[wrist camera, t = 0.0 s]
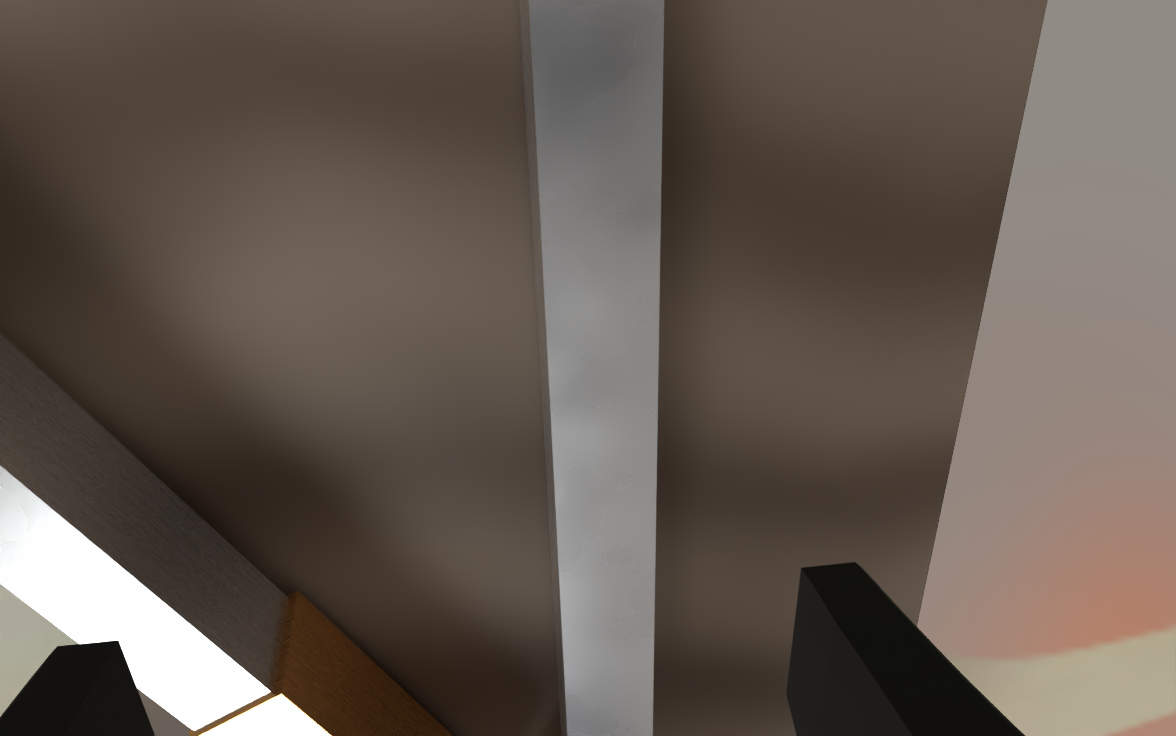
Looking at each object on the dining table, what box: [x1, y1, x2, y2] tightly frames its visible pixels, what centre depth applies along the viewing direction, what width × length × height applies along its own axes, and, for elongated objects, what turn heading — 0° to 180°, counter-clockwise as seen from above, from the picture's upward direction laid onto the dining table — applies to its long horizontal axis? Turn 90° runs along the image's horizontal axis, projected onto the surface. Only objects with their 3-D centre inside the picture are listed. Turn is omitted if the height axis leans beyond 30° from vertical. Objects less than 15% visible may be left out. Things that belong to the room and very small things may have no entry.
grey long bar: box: [519, 0, 664, 736], centre depth 19 cm, size 22×2×2 cm, turn 1°
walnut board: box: [0, 0, 1047, 736], centre depth 22 cm, size 28×18×1 cm, turn 1°
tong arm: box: [0, 332, 453, 736], centre depth 20 cm, size 26×4×3 cm, turn 29°
